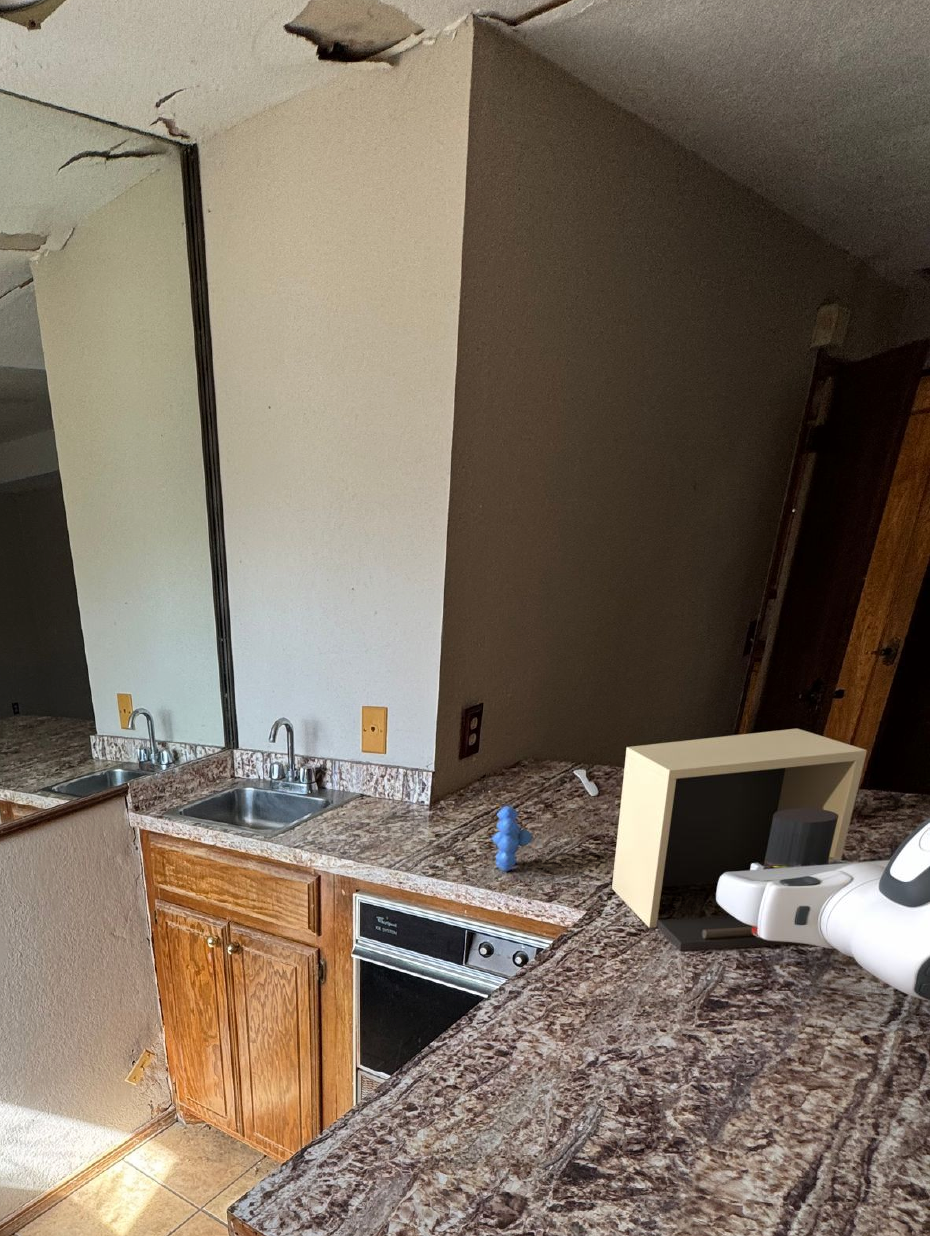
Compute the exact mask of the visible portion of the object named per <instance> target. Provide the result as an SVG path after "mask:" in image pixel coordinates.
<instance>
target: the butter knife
mask: <svg viewBox="0 0 930 1236" xmlns="http://www.w3.org/2000/svg"><path fill="white" fill-rule="evenodd" d="M573 774H574V775H575V776H576V777H577V778H579V779H580V781H581V783H582V784H583V787H584V788H585V789H586V791H587V793H588V794H589V795H590V796H591V797H595V796H597V795H598V794H599V790H598V789H599V788H598V787H597V785H596V784H595V782H594V781H589V779H588V778H587V771H586V769H575V770H574V771H573Z"/></svg>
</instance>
